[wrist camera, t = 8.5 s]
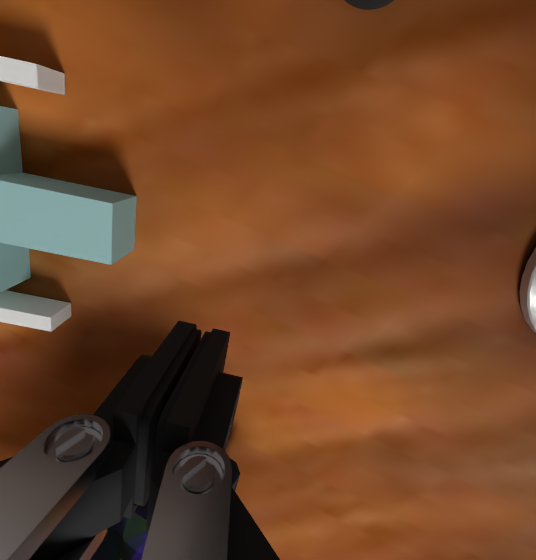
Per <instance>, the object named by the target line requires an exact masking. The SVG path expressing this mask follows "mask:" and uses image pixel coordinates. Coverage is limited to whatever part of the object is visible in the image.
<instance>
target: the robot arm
mask: <svg viewBox="0 0 536 560" xmlns="http://www.w3.org/2000/svg"><path fill="white" fill-rule="evenodd" d="M520 305H521V309H522V312H523V315H524V318H525V320H526V322H527V323H528V325H529V326H530V328H531V329H532V330H533V331H534V332H535V333H536V248H535V249H534V251H533V253H532V255H531V256H530V258H529V260H528V261H527V264H526V267H525V270H524V273H523V275H522V279H521V286H520ZM229 336H230V332H227V331H223V330H218V329H213V330H212V331H211V332H207V331H206V332H205V333H204V335H203V337H202V339H201V330H198V329H196V324H192V323H187V322H183V321H178V322H177V324H176V325H175V326H174V328H173V329H172V331H171V332H170V333H169V335H168V336H167V337H166V339H165V340H164V341H163V343H162V344H161V346H160V347H159V348H158V350H157V351H156V352H155V354H154V355H153V356H152V357H151V356H146V355H142V356H140V357H139V358H138V359H137V361H136V362H135V363H134V364H133V366H132V367H131V368H130V369H129V371H128V372H127V373H126V374H125V376H124V377H123V378H122V379H121V381H120V382H119V383H118V384H117V386H116V387H115V388H114V389H113V391H112V392H111V393H110V394H109V396H108V397H107V398H106V399H105V401H104V402H103V403H102V404H101V406H100V407H99V408H98V410H97V411H96V412H95V413H94V415H90V414H78V415H73V416H69V417H66V418H63V419H61V420H59V421H57V422H55V423H54V424H52V425H51V426H49V427H48V428H46V429H45V430H44V431H43V432H42V433H41V434H39V435H38V436H37V437H36V438H35V439H34V440H33V441H31V442H30V443H29V444H28V445H27V446H26V447H24V448H23V449H22V450H21V451H20V452H19V453H17V454H16V455H15V456H14V457H11V458H9V459H6V460H3V461H0V560H90V559H91V557H92V556H93V554H94V553H95V551H96V550H97V548H98V547H99V545H100V544H101V542H102V541H103V539H104V537H105V535H106V533H107V529H108V528H109V527H111V526H113V525H115V524H117V523H118V522H120V521H121V519H122V517H126V518H130V519H132V516H133V514H134V512H135V510H136V508H137V506H138V505H141V506H144V505H145V504H146V502H147V500H148V498H149V503H148V514H147V526H146V528H147V531H148V536H147V540H146V544H145V547H144V551H143V555H142V559H141V560H280V559H279V558H278V556H277V555H276V553H275V552H274V550H273V548H272V547H271V545H270V544H269V542H268V541H267V539H266V538H265V536H264V535H263V533H262V532H261V530H260V529H259V527H258V526H257V524H256V523H255V521H254V520H253V518H252V517H251V515H250V514H249V512H248V511H247V509H246V508H245V506H244V505H243V503H242V502H241V500H240V499H239V497H238V495H237V494H236V492H235V491H234V489H233V488H232V486H231V481H232V467H231V461H230V459H229V457H228V455H227V454H226V452H225V451H226V447H227V443H228V440H229V436H230V432H231V428H232V424H233V420H234V416H235V412H236V408H237V403H238V399H239V394H240V389H241V384H242V379H243V377H238V376H234V375H230V374H225V373H223V370H224V365H225V359H226V353H227V348H228V342H229ZM200 340H201V341H200Z"/></svg>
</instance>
